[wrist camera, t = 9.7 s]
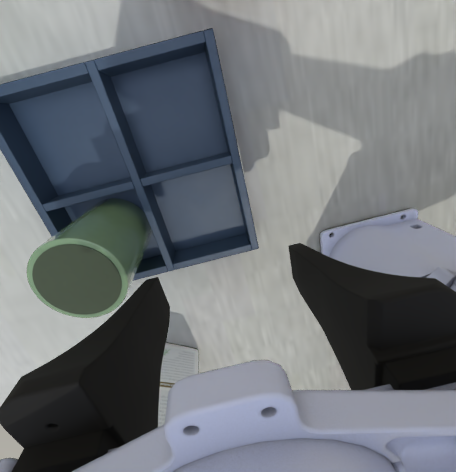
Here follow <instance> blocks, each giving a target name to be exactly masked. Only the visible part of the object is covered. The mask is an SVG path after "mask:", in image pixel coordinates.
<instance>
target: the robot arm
mask: <svg viewBox="0 0 456 472" xmlns="http://www.w3.org/2000/svg"><path fill="white" fill-rule="evenodd" d="M402 215H403V216H402ZM401 216H402V217H401ZM400 217H401V218H400ZM330 233H332V235H331V236H329V234H330ZM320 244H321V253H319V252H317V251H315V250H313V249H311V248H309V247H307V246H305V245H303V244H301V243H298V244H294V245H290V246H289V252H290V259H291V267H292V274H293V279H294V281H295V283H296V285H297V288H298V290H299V292H300V294H301V295H302V297H303V298H304V300H305V302H306V303H307V305H308V306H309V308H310V309H311V311H312V313H313V314H314V316H315V317H316V319H317V320H318V322H319V324H320V325H321V327H322V329H323V331H324V332H325V334H326V336H327V339H328V341H329V343H330V345H331V347H332V349H333V351H334V353H335V355H336V357H337V359H338V361H339V363H340V366H341V368H342V370H343V372H344V374H345V377H346V379H347V381H348V383H349V386H350V388H351V390H292V389H291V386H290V383H289V380H288V377H287V374H286V372H285V371H284V369H283V368H282V366H281V365H279V364H277V363H274V362H272V361H269V360H255V361H250V362H245V363H241V364H237V365H233V366H228V367H224V368H220V369H216V370H211V371H207V372H203V373H199V374H195V375H190V376H188V377H186V378H184V379H181V380H179V381H177V382H176V383H175V384H174V385H173V387H172V388H171V389H170V390H169V392H168V400H167V408H166V416H165V424H164V425H162V426H160V427H158V408H159V389H160V376H161V366H162V359H163V354H164V349H165V344H166V338H167V333H168V327H169V316H170V306H169V304H168V301H167V299H166V296H165V294H164V291H163V289H162V286H161V284H160V281H159V279H158V277H156V278H152V279H148V280H146V281H145V282H144V283H143V284H142V285H141V286H140V287H139V288H138V289H137V290H136V291H135V293H134V294H133V295H132V296H131V297H130V298H129V299H128V300H127V301H126V302H125V303H124V304H123V305H122V306H121V307H120V308H119V309H118V310H117V311H116V312H115V313H114V314H113V315H112V316H111V317H110V318H109V319H108V320H107V321H106V322H105V323H104V324H102V325H101V326H100V327H99V328H98V329H96V330H95V331H94V332H93V333H91V334H90V335H89V336H87V337H86V338H85V339H83V340H82V341H81V342H79V343H78V344H76V345H75V346H74V347H72V348H71V349H69V350H68V351H66V352H64V353H63V354H61V355H60V356H58V357H56V358H55V359H53V360H51V361H50V362H48V363H46V364H44V365H43V366H41V367H39V368H37V369H35V370H34V371H32V372H30V373H28V374H26V375H24V376H22V377H21V378H20V380H19V381H18V383H17V384H16V386H15V387H14V388H13V390H12V391H11V393H10V394H9V396H8V397H7V398H6V400H5V401H4V403H3V404H2V406H1V407H0V424H1V425H2V426H3V428H4V429H5V430H6V431H7V432H8V433H9V434H10V435H11V436H12V437H13V438H14V439H15V440H16V441H17V442H18V443H19V444H20V445H21V446H22V447H23V448H24V450H23V452H22V454H21V455H20V457H19V459H15V458H5V459H1V460H0V472H456V236H454V235H452V234H450V233H448V232H446V231H443V230H441V229H439V228H437V227H435V226H432V225H430V224H428V223H426V222H424V221H421V220H419V219H418V211H417V210H416V209H413V208H411V209H407V210H403V211H399V212H395V213H391V214H387V215H383V216H379V217H375V218H371V219H368V220H364V221H360V222H356V223H352V224H348V225H344V226H340V227H336V228H332V229H328V230H324V231H322V232H321V234H320Z"/></svg>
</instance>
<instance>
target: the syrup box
mask: <svg viewBox="0 0 456 472" xmlns="http://www.w3.org/2000/svg"><path fill="white" fill-rule="evenodd" d="M195 374H199V351H198V350H197V349H194V348H190V347H185V346H180V345H175V344H170V343H166V344H165V349H164V354H163V359H162V366H161V376H160V389H159V408H158V427H160V426H162V425H164V424H165V416H166V408H167V400H168V392H169V390H170V389H171V388H172V387H173V385H174V384H175V383H176V382H177V381H179V380H181V379H184V378H186V377H188V376H190V375H195Z"/></svg>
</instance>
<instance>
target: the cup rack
mask: <svg viewBox="0 0 456 472" xmlns="http://www.w3.org/2000/svg"><path fill="white" fill-rule="evenodd" d="M0 149H1V151H2V153H3V155H4V156H5V158H6V160H7V161H8V163H9V165H10V166H11V168H12V170H13V171H14V173H15V175H16V177H17V178H18V180H19V182H20V183H21V185H22V187H23V188H24V190H25V192H26V193H27V195H28V197H29V199H30V200H31V202H32V204H33V205H34V207H35V209H36V210H37V212H38V214H39V215H40V217H41V219H42V221H43V222H44V224H45V226H46V227H47V229H48V231H49V232H50V234H51V236H52V237H53V236H54V235H55V234H57V233H58V232H59V231H61V230H62V229H63V228H64V227H66V226H67V225H68V224H70V223H71V222H72V221H73V220H75V219H76V218H77V217H79V216H80V215H81V214H83V213H84V212H85V211H86V210H88V209H89V208H90V207H92V206H93V205H94V204H96V203H97V202H99V201H102V200H105V199H110V198H117V199H123V200H126V201H129V202H131V203H133V204H135V205H136V206H138V207H139V208H140V209H141V210H142V211H143V212H144V213H145V215H146V217H147V220H148V222H149V225H150V227H151V230H152V234H151V239H150V242H149V244H148V246H147V249H146V251H145V253H144V256H143V258H142V260H141V262H140V265H139V267H138V269H137V272H136V274H135V276H134V278H133V280H137V279H141V278H145V277H149V276H153V275H156V274H160V273H164V272H168V271H172V270H176V269H180V268H184V267H188V266H192V265H195V264H199V263H203V262H207V261H211V260H215V259H219V258H223V257H227V256H231V255H235V254H239V253H243V252H247V251H251V250H255V249H258V248H259V247H258V242H257V237H256V233H255V228H254V223H253V218H252V213H251V209H250V204H249V199H248V194H247V190H246V185H245V180H244V175H243V170H242V166H241V161H240V156H239V151H238V146H237V142H236V137H235V132H234V127H233V123H232V118H231V113H230V108H229V103H228V99H227V94H226V89H225V84H224V79H223V75H222V70H221V65H220V60H219V56H218V51H217V46H216V41H215V36H214V32H213V29H212V28H211V29H207V30H204V31H199V32H195V33H192V34H188V35H184V36H180V37H177V38H173V39H169V40H165V41H162V42H158V43H154V44H150V45H147V46H143V47H139V48H135V49H132V50H128V51H124V52H121V53H117V54H113V55H109V56H106V57H102V58H98V59H95V60H91V61H87V62H85V63H84V62H83V63H79V64H75V65H72V66H68V67H64V68H60V69H57V70H53V71H49V72H45V73H42V74H38V75H34V76H30V77H27V78H23V79H19V80H15V81H12V82H8V83H4V84H0Z"/></svg>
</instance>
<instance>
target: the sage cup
mask: <svg viewBox="0 0 456 472" xmlns="http://www.w3.org/2000/svg"><path fill="white" fill-rule="evenodd" d="M151 234H152V230H151V227H150V225H149V222H148V220H147V217H146V215H145V213H144V212H143V211H142V210H141V209H140V208H139V207H138V206H136V205H135V204H133V203H131V202H129V201H126V200H123V199H117V198H110V199H105V200H102V201H99V202H97V203H96V204H94V205H93V206H92V207H90V208H89V209H88V210H86V211H85V212H84V213H83V214H81V215H80V216H79V217H77V218H76V219H75V220H73V221H72V222H71V223H70V224H68V225H67V226H66V227H64V228H63V229H62V230H61V231H59V232H58V233H57V234H55V235H54V236H53V237H51V238H50V239H49V240H48V241H46V242H45V243H44V244H42V245H41V246H40V247H38V248H37V249H36V250H35V251H34V253H33V254H32V255H31V257H30V259H29V262H28V265H27V278H28V282H29V284H30V287H31V289H32V290H33V292H34V293H35V294H36V296H37V297H38V298H39V299H40V300H41V301H42V302H43V303H44V304H46V305H47V306H49V307H50V308H52V309H54V310H55V311H57V312H60V313H62V314H65V315H69V316H73V317H80V318H91V317H98V316H102V315H105V314H107V313H109V312H111V311H113V310H114V309H116V308H117V307H118V306H119V305H120V304H121V303H122V302H123V300H124V299H125V297H126V294H127V292H128V290H129V288H130V285H131V283H132V281H133V278H134V276H135V274H136V272H137V269H138V267H139V265H140V262H141V260H142V258H143V256H144V253H145V251H146V249H147V246H148V244H149V242H150V239H151Z"/></svg>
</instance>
